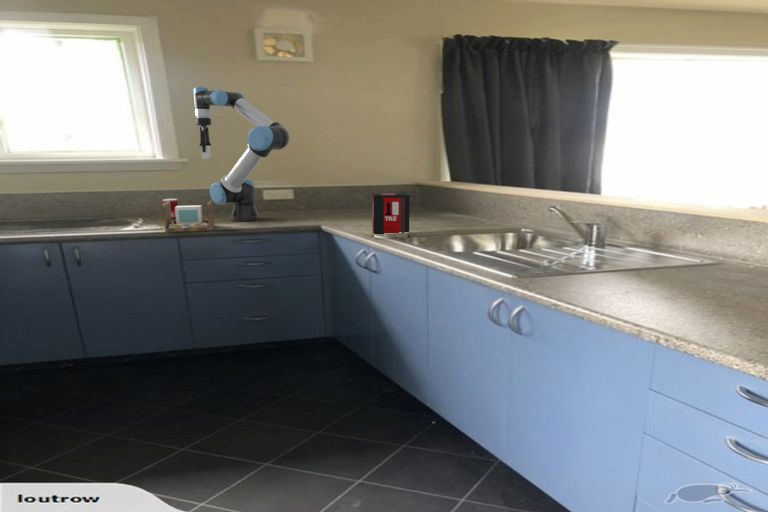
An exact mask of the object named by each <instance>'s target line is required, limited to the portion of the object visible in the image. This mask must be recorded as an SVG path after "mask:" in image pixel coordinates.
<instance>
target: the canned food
mask: <svg viewBox="0 0 768 512" xmlns="http://www.w3.org/2000/svg"><path fill="white" fill-rule="evenodd" d="M168 201H170V207H171V216H172V220H176V213H175V207H176V206H179V202H178V201H179V200H178V198H163V199H162V205H163V204H164V203H166V202H168Z"/></svg>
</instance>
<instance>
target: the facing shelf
mask: <svg viewBox="0 0 768 512" xmlns="http://www.w3.org/2000/svg"><path fill="white" fill-rule="evenodd" d="M213 202H214V201H213V200H212V199H211V200H209V201H208V202H207V203H206V208H207V218H206V219H203V223H192V224H177V223H176V219H172V216H171V207H170V201H168V202H166V203H164V204H163V203H162V206H161V207H162V217H163V226H164V232H165V233H168V232H169V233H170V232H172V233H173V232H195V231H198V232H199V231H212V229H214V227H215V216H214V215H215V214H214V205H213V204H214V203H213Z"/></svg>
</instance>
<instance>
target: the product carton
mask: <svg viewBox="0 0 768 512" xmlns="http://www.w3.org/2000/svg"><path fill="white" fill-rule="evenodd" d="M175 213H176V219H175V220H176V223H177V224H192V223H203V218H204V217H203V205H202V204H200V205H199V204H198V205H195V204H193V205H192V204H191V205H178V206H176V207H175Z"/></svg>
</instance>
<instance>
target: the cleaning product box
mask: <svg viewBox="0 0 768 512" xmlns="http://www.w3.org/2000/svg"><path fill="white" fill-rule="evenodd" d="M371 195H372V197H371V198H372V199H371V200H372V201H371V203H372V204H371V205H372V208H371V209H372V221H371V223H372V234H373V233H374V234H384V233H399V232H402V233H404V232H409V233H410V199H411V195H410V194H409V193H408V192H396V193H395V192H389V193H388V192H384V193H383V192H381V193H380V192H377V193H376V192H375V193H374V192H373V193H371Z"/></svg>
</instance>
